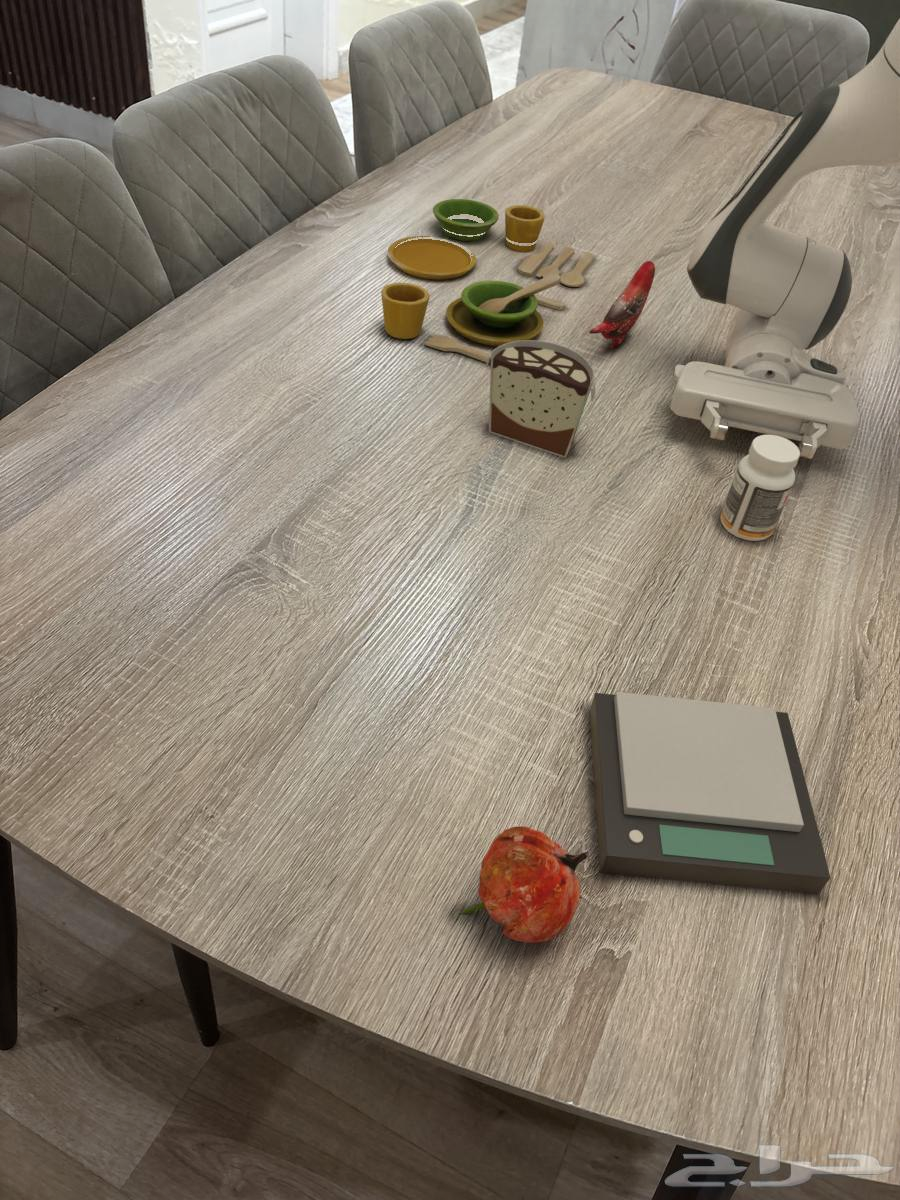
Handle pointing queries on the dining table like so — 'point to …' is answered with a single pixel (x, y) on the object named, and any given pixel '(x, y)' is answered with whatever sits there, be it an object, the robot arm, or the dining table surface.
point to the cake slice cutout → (538, 393)
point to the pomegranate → (529, 885)
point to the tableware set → (483, 305)
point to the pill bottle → (760, 488)
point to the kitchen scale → (702, 794)
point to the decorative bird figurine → (627, 306)
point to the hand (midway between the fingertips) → (763, 443)
